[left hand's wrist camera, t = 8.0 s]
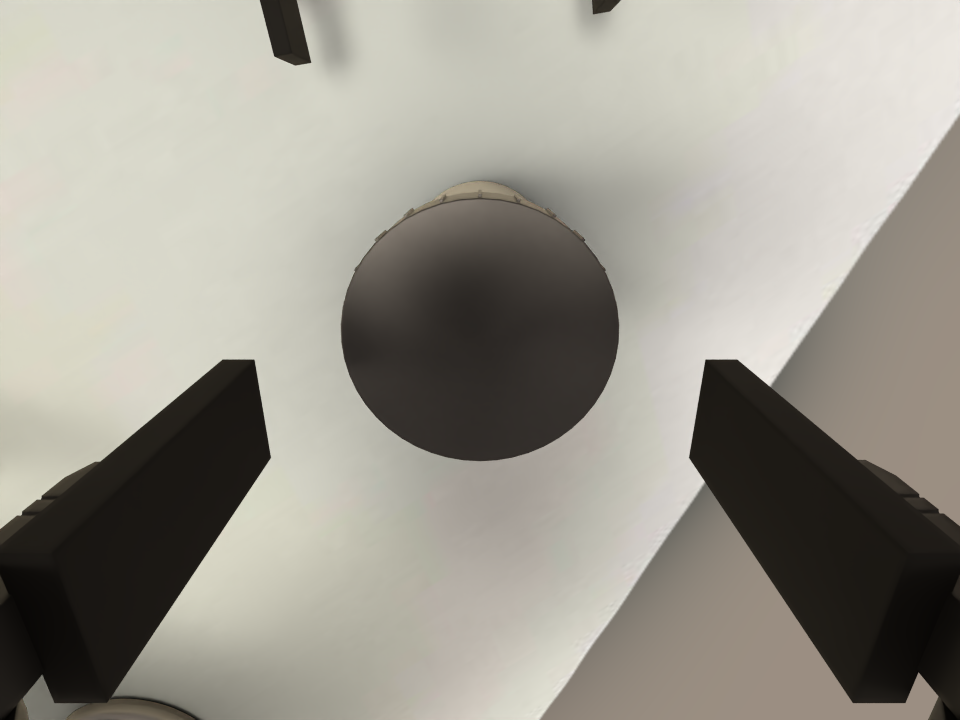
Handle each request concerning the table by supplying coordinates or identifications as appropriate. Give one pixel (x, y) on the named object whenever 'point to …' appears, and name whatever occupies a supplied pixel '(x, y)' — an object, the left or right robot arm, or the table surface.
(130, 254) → the table surface
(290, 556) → the table surface
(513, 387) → the lid
